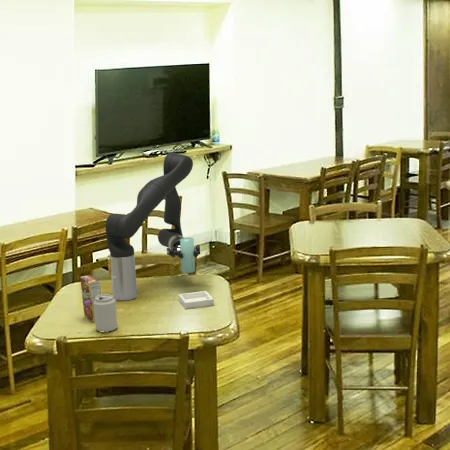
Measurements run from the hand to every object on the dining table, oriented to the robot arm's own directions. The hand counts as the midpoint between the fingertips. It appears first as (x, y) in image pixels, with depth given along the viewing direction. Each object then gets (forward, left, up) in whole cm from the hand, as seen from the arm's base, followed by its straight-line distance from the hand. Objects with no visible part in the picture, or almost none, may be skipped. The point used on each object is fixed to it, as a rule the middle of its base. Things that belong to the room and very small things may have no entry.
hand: (189, 255), depth 298 cm
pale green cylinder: (0, +3, -7) cm, 7 cm away
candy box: (-40, -13, -16) cm, 45 cm away
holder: (-1, -11, -16) cm, 19 cm away
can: (-37, -26, -16) cm, 48 cm away
